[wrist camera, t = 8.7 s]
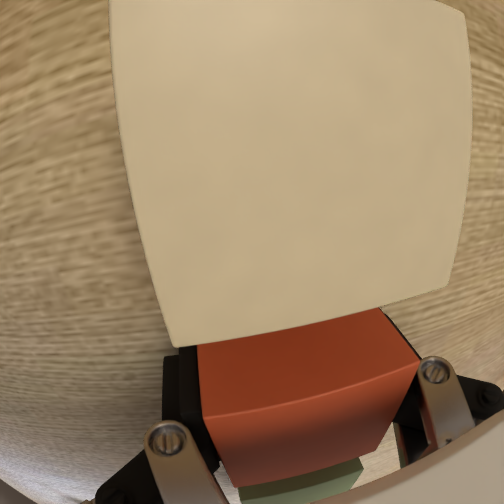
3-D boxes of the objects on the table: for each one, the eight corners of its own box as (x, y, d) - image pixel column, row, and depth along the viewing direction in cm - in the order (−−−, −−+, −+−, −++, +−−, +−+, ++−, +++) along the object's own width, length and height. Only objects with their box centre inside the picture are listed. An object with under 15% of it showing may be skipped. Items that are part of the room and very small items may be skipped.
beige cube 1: (156, 52, 6) (107, -19, 2) (336, 44, 7) (465, 12, 3) (180, 224, 9) (172, 349, 4) (341, 202, 9) (448, 287, 5)
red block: (193, 285, 10) (202, 418, 5) (339, 260, 10) (422, 360, 6) (217, 381, 12) (234, 488, 8) (329, 358, 13) (376, 450, 8)
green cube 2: (223, 405, 13) (240, 501, 8) (325, 384, 13) (364, 469, 9) (236, 448, 15) (251, 520, 11) (317, 430, 16) (344, 497, 11)
